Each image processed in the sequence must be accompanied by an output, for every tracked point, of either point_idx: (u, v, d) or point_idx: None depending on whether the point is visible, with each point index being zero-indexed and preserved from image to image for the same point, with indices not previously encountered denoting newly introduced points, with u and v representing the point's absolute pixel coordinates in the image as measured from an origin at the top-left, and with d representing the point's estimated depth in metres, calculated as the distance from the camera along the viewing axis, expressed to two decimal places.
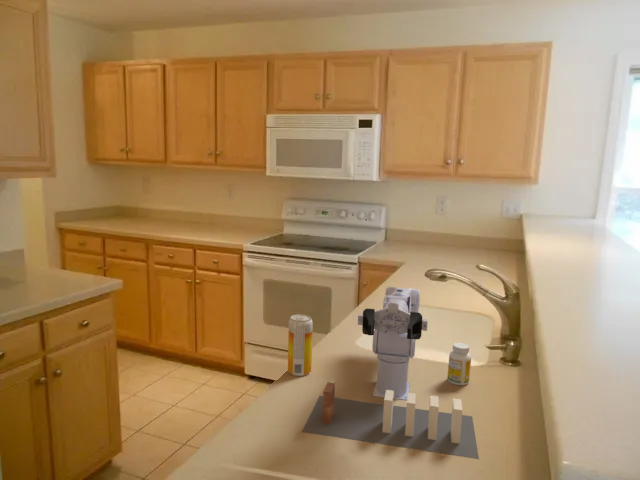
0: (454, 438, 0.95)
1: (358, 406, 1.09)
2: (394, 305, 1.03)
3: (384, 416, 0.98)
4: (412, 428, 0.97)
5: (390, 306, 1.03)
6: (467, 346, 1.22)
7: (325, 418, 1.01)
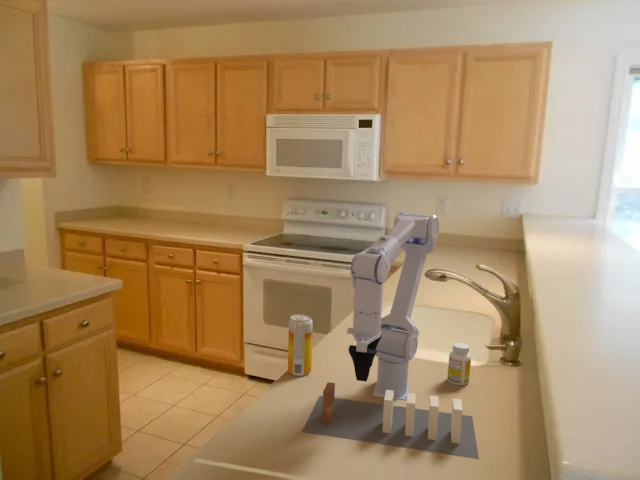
0: (454, 438, 0.95)
1: (358, 406, 1.09)
2: None
3: (384, 416, 0.98)
4: (412, 428, 0.97)
5: None
6: (467, 346, 1.22)
7: (325, 418, 1.01)
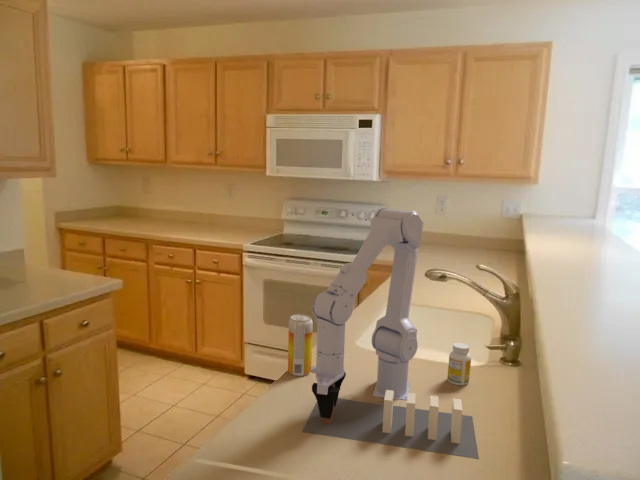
0: (454, 438, 0.95)
1: (358, 406, 1.09)
2: None
3: (384, 416, 0.98)
4: (412, 428, 0.97)
5: None
6: (467, 346, 1.22)
7: (325, 418, 1.01)
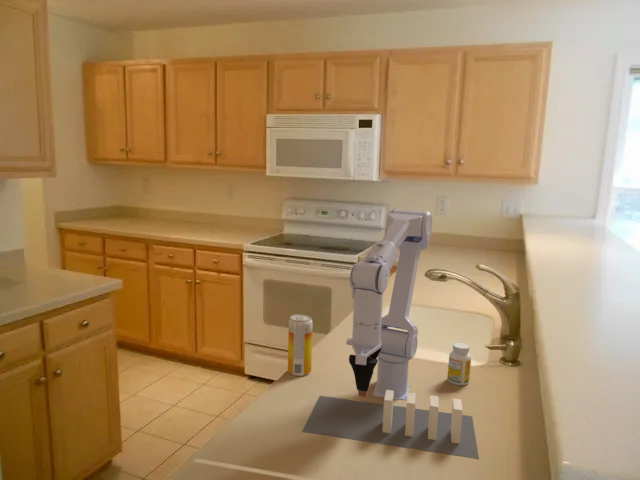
0: (454, 438, 0.95)
1: (358, 406, 1.09)
2: None
3: (384, 416, 0.98)
4: (412, 428, 0.97)
5: None
6: (467, 346, 1.22)
7: (362, 391, 0.98)
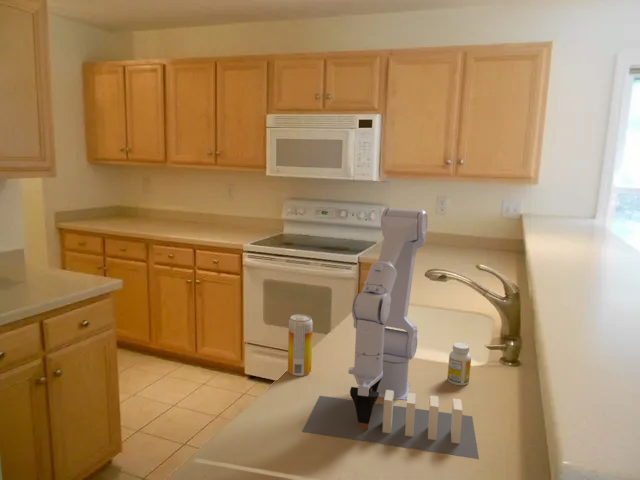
0: (454, 438, 0.95)
1: None
2: None
3: (384, 416, 0.98)
4: (412, 428, 0.97)
5: None
6: (467, 346, 1.22)
7: (363, 424, 0.99)
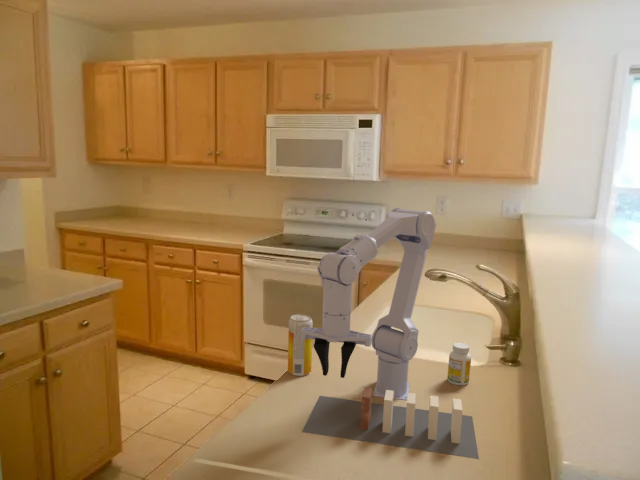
0: (454, 438, 0.95)
1: (358, 406, 1.09)
2: None
3: (384, 416, 0.98)
4: (412, 428, 0.97)
5: None
6: (467, 346, 1.22)
7: (363, 424, 0.99)
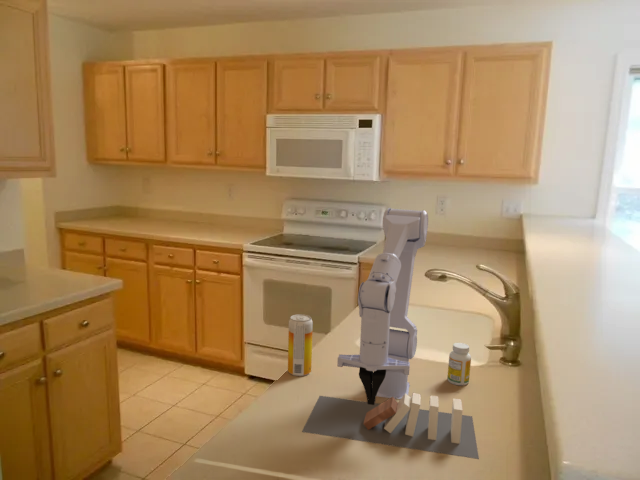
0: (454, 438, 0.95)
1: (358, 406, 1.09)
2: None
3: (394, 417, 0.97)
4: (413, 428, 0.97)
5: None
6: (467, 346, 1.22)
7: (369, 424, 0.99)
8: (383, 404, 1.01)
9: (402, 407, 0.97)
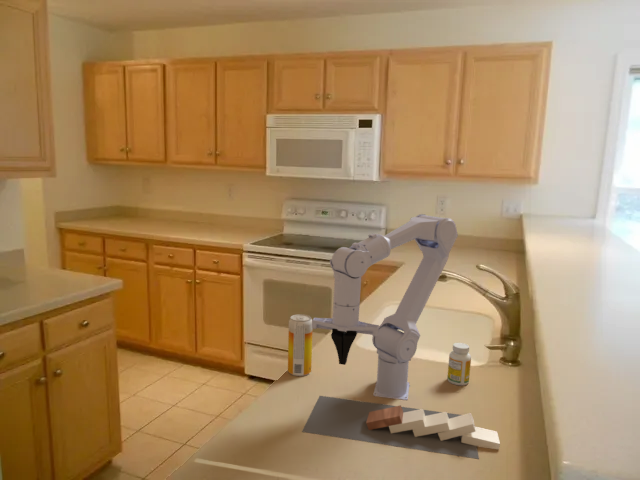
0: (467, 438, 0.95)
1: (358, 406, 1.09)
2: None
3: (405, 424, 0.97)
4: (423, 434, 0.96)
5: None
6: (467, 346, 1.22)
7: (372, 425, 0.99)
8: (389, 410, 1.01)
9: (418, 421, 0.96)
